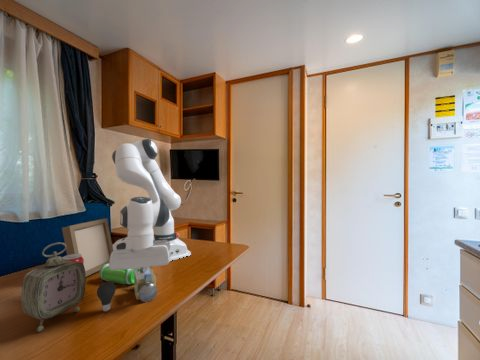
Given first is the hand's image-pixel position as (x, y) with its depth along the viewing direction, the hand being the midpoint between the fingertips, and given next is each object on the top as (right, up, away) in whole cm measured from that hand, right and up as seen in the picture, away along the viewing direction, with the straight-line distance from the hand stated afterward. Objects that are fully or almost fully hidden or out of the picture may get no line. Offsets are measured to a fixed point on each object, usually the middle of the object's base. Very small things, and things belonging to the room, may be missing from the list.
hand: (140, 278), depth 82 cm
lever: (0, -1, +4) cm, 4 cm away
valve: (-1, -9, +7) cm, 12 cm away
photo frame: (-40, -10, +30) cm, 51 cm away
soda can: (-31, -10, +8) cm, 33 cm away
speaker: (-17, -10, +18) cm, 27 cm away
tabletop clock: (-24, -9, -9) cm, 28 cm away
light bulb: (-10, -9, -5) cm, 14 cm away
